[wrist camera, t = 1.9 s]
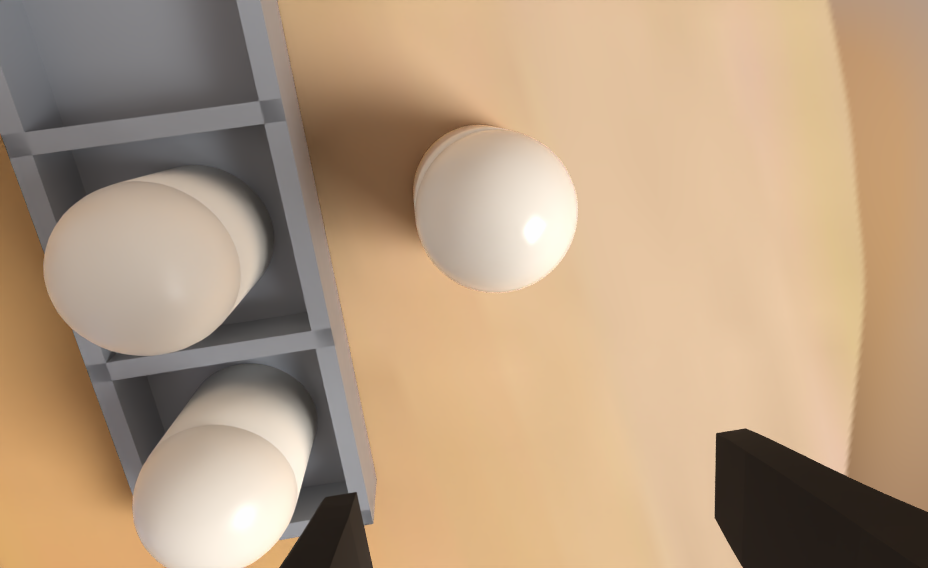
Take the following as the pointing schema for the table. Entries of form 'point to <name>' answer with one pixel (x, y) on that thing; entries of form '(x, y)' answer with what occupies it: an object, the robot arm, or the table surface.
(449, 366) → the table surface
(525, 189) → the egg
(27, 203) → the egg crate
